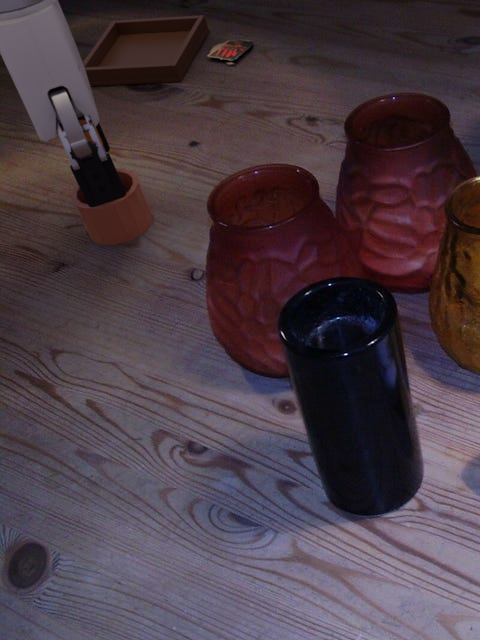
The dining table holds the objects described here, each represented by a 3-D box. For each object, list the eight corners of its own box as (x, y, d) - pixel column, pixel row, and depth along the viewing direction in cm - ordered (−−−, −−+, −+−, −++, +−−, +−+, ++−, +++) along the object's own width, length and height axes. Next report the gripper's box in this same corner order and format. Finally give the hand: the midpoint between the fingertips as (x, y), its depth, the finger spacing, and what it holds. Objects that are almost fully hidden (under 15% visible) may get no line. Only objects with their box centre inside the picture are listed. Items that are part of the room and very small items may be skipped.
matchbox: (256, 41, 112) (255, 37, 112) (240, 65, 109) (239, 61, 109) (218, 41, 113) (216, 37, 113) (201, 65, 110) (199, 61, 110)
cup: (81, 250, 89) (61, 209, 85) (104, 209, 93) (85, 169, 89) (143, 248, 88) (125, 207, 85) (163, 207, 92) (146, 167, 89)
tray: (83, 86, 110) (76, 70, 108) (118, 36, 117) (112, 20, 116) (181, 82, 108) (175, 65, 107) (209, 31, 116) (204, 15, 114)
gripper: (-50, -49, 79) (44, 143, 91) (-33, 41, 67) (72, 246, 80) (45, -74, 80) (124, 118, 93) (78, 8, 69) (163, 215, 81)
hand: (99, 176), depth 86 cm, fingers open, 7 cm apart
